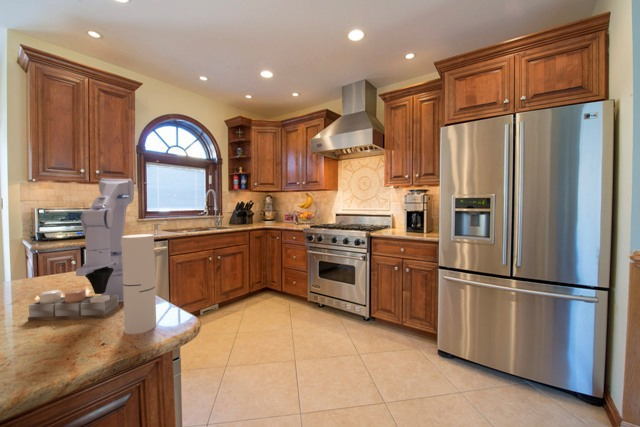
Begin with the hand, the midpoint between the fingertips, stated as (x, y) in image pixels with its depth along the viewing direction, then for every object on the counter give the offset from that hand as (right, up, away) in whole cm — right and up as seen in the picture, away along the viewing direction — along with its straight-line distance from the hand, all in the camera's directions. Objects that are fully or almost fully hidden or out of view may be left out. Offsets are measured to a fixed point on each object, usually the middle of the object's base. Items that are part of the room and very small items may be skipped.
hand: (100, 293), depth 83 cm
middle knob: (-7, -3, 0) cm, 8 cm away
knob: (0, -5, 0) cm, 5 cm away
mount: (-7, -6, 0) cm, 9 cm away
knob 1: (-14, -3, -1) cm, 14 cm away
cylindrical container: (+18, -7, -9) cm, 22 cm away
